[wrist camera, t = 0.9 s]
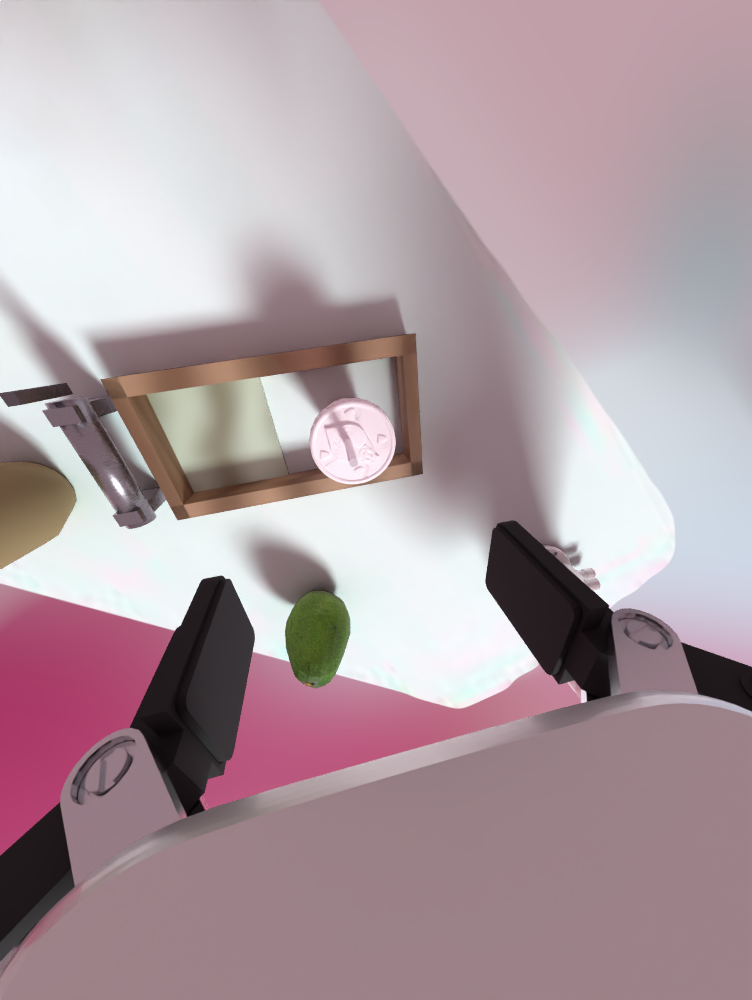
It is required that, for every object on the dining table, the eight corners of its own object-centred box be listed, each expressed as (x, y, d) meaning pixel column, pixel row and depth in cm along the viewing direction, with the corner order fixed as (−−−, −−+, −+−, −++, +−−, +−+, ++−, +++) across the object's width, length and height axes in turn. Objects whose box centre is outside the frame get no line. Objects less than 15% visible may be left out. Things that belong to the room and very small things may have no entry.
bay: (406, 334, 27) (415, 333, 25) (414, 463, 34) (422, 473, 31) (123, 375, 25) (100, 379, 22) (189, 505, 31) (177, 520, 29)
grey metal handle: (106, 376, 25) (26, 389, 18) (172, 499, 31) (130, 544, 24) (76, 381, 25) (-16, 395, 18) (148, 504, 31) (100, 550, 24)
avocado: (297, 572, 38) (288, 659, 28) (354, 582, 40) (366, 665, 30) (283, 615, 41) (270, 708, 31) (336, 621, 44) (342, 709, 33)
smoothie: (333, 369, 28) (344, 389, 15) (387, 407, 30) (433, 450, 18) (300, 426, 29) (286, 484, 17) (353, 458, 32) (374, 528, 20)
